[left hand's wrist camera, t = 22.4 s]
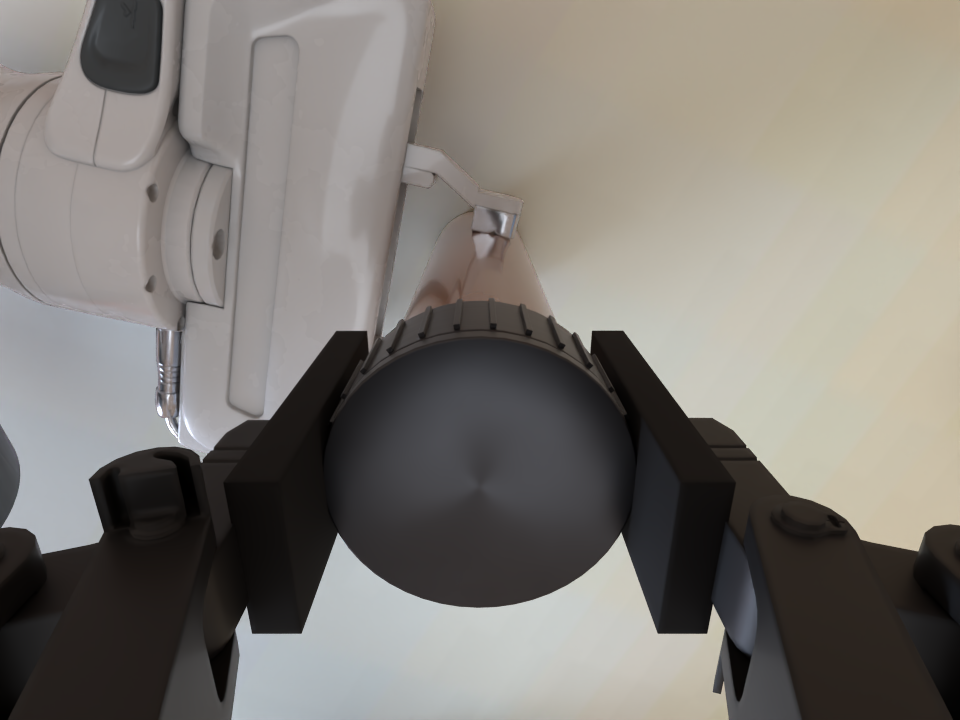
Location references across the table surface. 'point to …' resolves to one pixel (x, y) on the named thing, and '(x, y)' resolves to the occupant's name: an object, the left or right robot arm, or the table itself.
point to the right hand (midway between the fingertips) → (500, 290)
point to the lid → (479, 456)
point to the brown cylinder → (478, 271)
